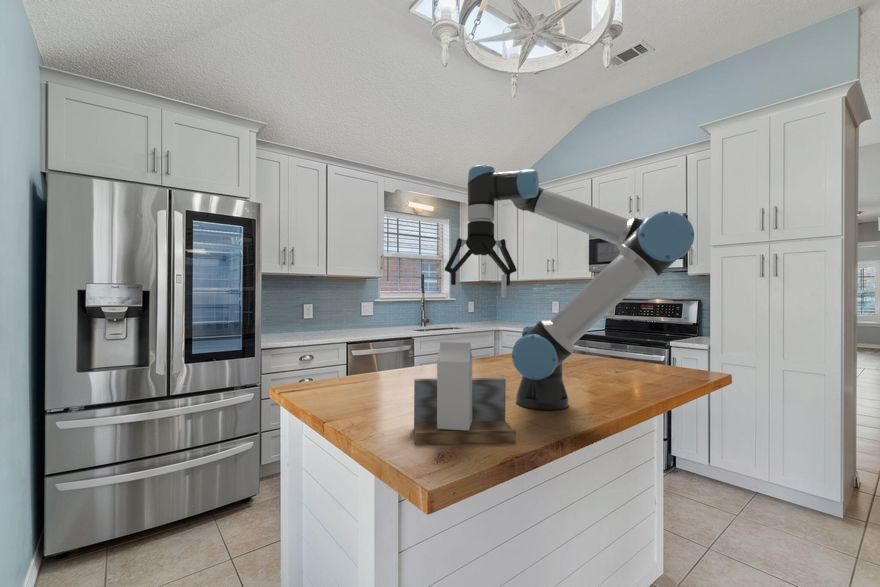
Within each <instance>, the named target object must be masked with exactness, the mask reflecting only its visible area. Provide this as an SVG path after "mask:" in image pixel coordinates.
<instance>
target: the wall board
mask: <svg viewBox="0 0 880 587" xmlns="http://www.w3.org/2000/svg"><path fill="white" fill-rule="evenodd" d="M413 380H414V390H413V391H414V392H413V393H414V395H413V432H414V441H415V446H427V445H428V446H429V445H431V446H432V445H433V446H435V445H462V444H463V445H464V444H465V445H466V444H467V445H469V444H470V445H471V444H472V445H473V444H499V443H501V444H502V443H503V444H504V443H506V444H507V443H517V441H516V440H517V437H516V436H517V435H516V434H517V431H516V429H515V428H512V427H511V425H510V424H509V423H508V422H507V421H506V393H507V392H506V390H507V389H506V388H507V387H506V385H507V382H506V378H504V377H472V423H471V426H470V429H469V430H449V429H437V377H436V378H414V379H413Z"/></svg>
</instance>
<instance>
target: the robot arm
mask: <svg viewBox="0 0 880 587" xmlns="http://www.w3.org/2000/svg"><path fill="white" fill-rule="evenodd" d="M539 183H540V181H539V174H538V172H537V170H535V169H520V170H511V171H500V172H496V170H495V167H494V166H492V165H488V164H478V165H475V166H472V167H470V168H469V170H468V177H467V222H468V223H467V238H466V239H462V238H460V237H458V238H457V239H456V242H455V248H454V249H453V251H452V254H451V255H450V257H449V259H448V261H447V263H446V264H445V267H444V271H445V272H447V273H449V274H450V284H451V286H454V294H453V295H454V298H459V293H460V291H459V290H460V288H459V282H460V280H459V278H460V277H459V273H457V272H458V270H459V269H460V268H461V267H462V266H463V265H464V263H466V261H467V260H468V259H469V257H471V255H473V256H479V255H480V256H487V255H488V256H489V258H491V259H492V260H493V262H494V263H495V264H496V265H497V266H498V267H499V269H500V270H501V271H502V272H503V274H501V283H500V284H501V286H500V288H501V289H500V290H501V294H500V295H501V298H507V287H508V286H510V284H511V274H513V273H516V272H518V270H517V268H516V265H515V263H514V261H513V259H512V257H511V254H510V252H509V250H508V248H507V244H506V243H507V242H506V239H504V238H503V239H499V240H496V239H495V223H494V221H495V201H507V200H508V201H509V200H510V201H511V202H512V203H513V205H514V207H515V208H516V209H519V210H521V211H522V212H523V211H525V212H526V211H527V212H530V213H532V214H537V215H538V216H541V217H544V218H546V219H549V220H551V221H554V222H556V223H559V224H561V225H564V226H567V227H570V228H571V229H575V230H577V231H579V232H583V233H585V234H587V235H590V236H592V237H594V238H597V239H601V240H603V241H605V242H608V243H611V244H614V245H616V247H617V249H618V250H619V254H618V255H617V256H616V257H615V258H614V259H613V260H612V261H611V262H610V263H609V264H607V266H606V267H605V268H603V269H602V270H601V271H600V272H598V274H597V275H596V276H594V278H592V280H590V281H589V282H588V283H587V284H586V285H585V286H584V287H583V288H582V289H581V290H580V291H579V292H577V294H575V296H574V297H572V298H571V300H569V301H568V302H566V304H565V305H564V306H562V307H561V308H560V310H559V311H558V312H556V313H555V314H554V315H553V316H552V317H551V318H550V319H540V320H539V321H538V322H537V323H536V324H535V325H526V326H524V327H523V329H522V333H521V337H520V338H518V339H517V340H516V341H515V343H514V345H513V348H512V351H511V361H512V363H513V366H514V367H515V370H516V371H517V372H518V373H519V374H520V375H521V380H520V383H519V386H518V388H517V392H516V395H515V398H516V399H515V402H516V404H518V405H519V406H521V407H525V408H528V409H533V410H543V411H556V410H557V411H558V410H563V409H566V408H568V407H569V396H568V392H567V389H566V386H565V382H564V381H563V380H564V379H563V362H565V360H566V359H568V357H569V356H571V355H572V354H574V346H575V345H574V344H576V342H577V341H578V340H580V338H582V337H583V336H585V334H586V333H587V332H588V331H590V329H592V328H593V327H594V326H595V325H596V324H597V323H599V321H600V320H602V319H603V318H604V317H605V316H606V315H607V314H608V313H610V311H612V310H613V309H614V308H615V307H616V306H617V305H619V304H620V303H621V302H622V301H623V300H624V299H625V298H626V297H627V296H628V295H629V294H631V293H632V292H633V291H634V290H635V289H636V288H637V287H638V286H640V284H642V283H643V282H644V281H645V280H646V279H653V278H655V279H656V278H658V277H660V276H661V275H662V274H663V272H665V271H666V270H667V269H668V268H669V267H670V266H671V265H672V264H674V263H675V262H676V261H677V260H679V259H681V258H683V257H685V256H686V255H687V254H688V253H689V251H690V250H691V248H692V246H693V244H694V240H695V230H694V227H693V225H692V223H691V221H689V219H688V218H687V217H685V215H683V214H681V213H678V212H675V211H669V210H666V211H660V212H656V213H653V214H652V215H649V216H647V217H646V218H645V219H644V220H643V219H640V218H637V217H635V216H634V217H632V218H629V219H628V218H626V217H623V216H620V215H617V214H615V213H611V212H609V211H606V210H605V209H604V210H603V209H600V208H597V207H595V206H592V205H589V204H587V203H584V202H582V201H578V200H575V199H574V198H573V199H572V198H570V197H567V196H564V195H562V194H559V193H556V192H554V191H551V190H548V189H544V188H542V187H541V186H539V185H540V184H539ZM464 245H466V247H467V248H468V250H467V252H466V253H464V255H463V256H462V257H461V258H460V260H458V262H457V263H456V264H455V265H454V266H453V264H454V262H455V260H456V258H457V256H458V254H459V251H460V250H461V248H463V247H464ZM496 246H497V248H499V251H500V253H501V255H502V256H503V260H504V261H505V262H506V264H505V263H504V262H503V260H502V259H501V258H500V257H499V255H498V254H497V252H496V251H495V249H494V248H495V247H496ZM452 266H453V267H452Z"/></svg>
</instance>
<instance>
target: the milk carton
mask: <svg viewBox="0 0 880 587" xmlns="http://www.w3.org/2000/svg"><path fill="white" fill-rule="evenodd" d="M471 343H472V342H462V341H461V342H460V341H459V342H458V341H454V342H453V341H439V349H438V350H439V351H438V354H437V355H438V356H437V360H436V361H437V363H436V364H437V366H436V367H437V370H436V372H437V373H436V375H437V376H436V378H437V429H449V430H469V429H470V426H471V423H472V378H473V355H472V354H473V353H472V346H471V345H472V344H471Z"/></svg>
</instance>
